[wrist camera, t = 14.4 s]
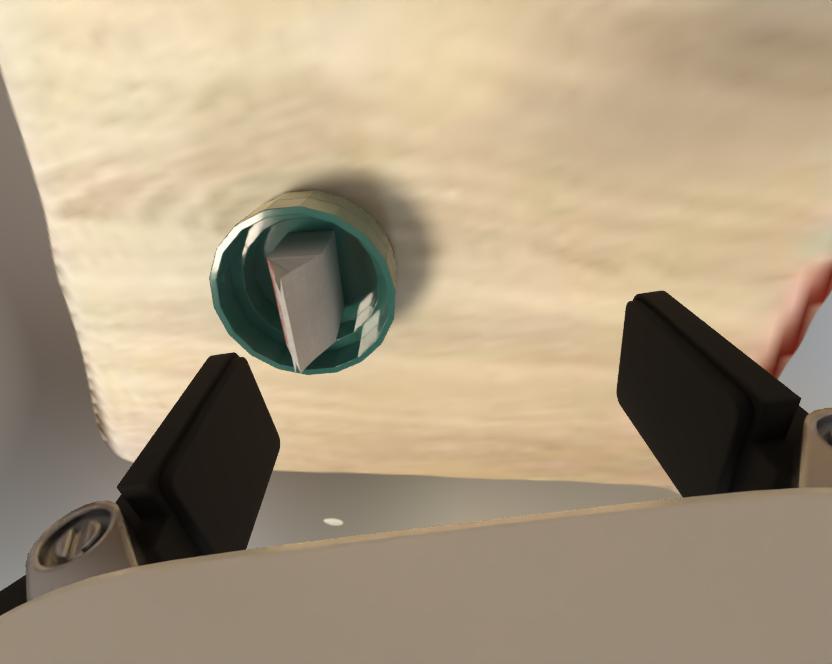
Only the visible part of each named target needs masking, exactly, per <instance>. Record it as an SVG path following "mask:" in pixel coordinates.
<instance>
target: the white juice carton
mask: <svg viewBox="0 0 832 664" xmlns="http://www.w3.org/2000/svg"><path fill="white" fill-rule="evenodd" d="M267 261H268V266H269V270H270V275H271V279H272V283H273V288H274V292H275V297H276V301H277V306H278V310H279V315H280V319H281V323H282V328H283V332H284V337H285V341H286V345H287V347H288V349H289V351H290V353H291V356H292V360H293V365H294V369H295V374H296V369H297V366H298V369H299V371H300V373H302V372H303V371H304V369H305V368H306V367H307V366H308V365H309V364H310V363H311V362H312V361H313V360H314V359H315V358H317V357H318V356H319V355H320V354H321V353H323V352H324V351H325V350H326V349H327V348H329V347H330V346H331V345H332V344H333V343H335V342H336V338H337V334H338V331H339V327H340V323H341V320H342V316H343V312H344V309H345V305H344V297H343V290H342V283H341V276H340V269H339V262H338V255H337V248H336V241H335V234H334V231H316V232H297V233H287V234H286V236H285V237H284V238H283V239H282V240H281V241H280V243H279V244H278V245H277V246H276V247H275V249H274V250H273V251H272V252H271V253H270V254H269V256H268V257H267Z"/></svg>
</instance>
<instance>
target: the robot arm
mask: <svg viewBox="0 0 832 664" xmlns="http://www.w3.org/2000/svg"><path fill="white" fill-rule="evenodd" d="M617 398H618V401H619V404H620V405H621V407H622V408H623V410H624V411H625V413H626V414H627V416H628V417H629V419H630V420H631V422H632V423H633V425H634V426H635V428H636V429H637V431H638V432H639V434H640V435H641V436H642V438H643V439H644V441H645V442H646V444H647V445H648V447H649V448H650V450H651V451H652V453H653V454H654V456H655V457H656V459H657V460H658V461H659V463H660V464H661V466H662V467H663V469H664V470H665V472H666V473H667V475H668V476H669V478H670V479H671V481H672V482H673V484H674V485H675V487H676V488H677V489H678V491H679V492H680V494H681V495H682V497H683V498H674V499H664V500H655V501H646V502H638V503H629V504H620V505H611V506H603V507H594V508H585V509H576V510H568V511H559V512H550V513H541V514H534V515H525V516H516V517H507V518H500V519H491V520H482V521H474V522H465V523H457V524H449V525H440V526H432V527H424V528H415V529H408V530H399V531H391V532H383V533H374V534H366V535H358V536H351V537H342V538H335V539H326V540H318V541H310V542H302V543H295V544H287V545H278V546H271V547H263V548H255V549H247V550H246V548H247V545H248V542H249V539H250V536H251V533H252V530H253V527H254V524H255V521H256V518H257V515H258V512H259V509H260V506H261V503H262V500H263V497H264V494H265V491H266V488H267V485H268V482H269V479H270V476H271V474H272V471H273V468H274V465H275V462H276V459H277V456H278V453H279V449H280V438H279V435H278V432H277V430H276V428H275V425H274V423H273V421H272V418H271V416H270V414H269V411H268V409H267V407H266V404H265V402H264V399H263V397H262V395H261V392H260V390H259V388H258V385H257V383H256V381H255V378H254V376H253V374H252V371H251V369H250V367H249V364H248V362H247V360H246V359H245V358H244V357H239V356H238V355H237V354H236V353H227V354H220V355H213V356H210V357H209V358H208V359H207V360H206V362H205V363H204V365H203V366H202V367H201V369H200V370H199V372H198V373H197V374H196V376H195V377H194V379H193V380H192V381H191V383H190V384H189V386H188V387H187V389H186V390H185V391H184V393H183V394H182V396H181V397H180V398H179V400H178V401H177V403H176V404H175V405H174V407H173V408H172V410H171V411H170V412H169V414H168V415H167V417H166V418H165V420H164V421H163V422H162V424H161V425H160V427H159V428H158V429H157V431H156V432H155V434H154V435H153V436H152V438H151V439H150V441H149V442H148V443H147V445H146V446H145V448H144V449H143V451H142V452H141V453H140V455H139V456H138V458H137V459H136V460H135V462H134V463H133V465H132V466H131V467H130V469H129V470H128V472H127V473H126V475H125V476H124V477H123V479H122V480H121V482H120V483H119V484H118V486H117V488H118V490H119V491H120V493H121V495H120V497H119V498H118V500H117V501H116V503H114V502H110V501H98V502H94V503H90V504H87V505H84V506H82V507H80V508H78V509H76V510H73V511H71V512H70V513H68V514H67V515H65V516H64V517H62V518H61V519H59V520H58V521H56V522H55V523H54V524H53V525H52V526H51V527H49V528H48V529H47V530H46V531H45V532H44V533H43V534H42V535H41V536H40V538H39V539H38V540H37V541H36V542H35V543H34V545H33V547H32V548H31V550H30V552H29V553H28V556H27V561H26V575H25V576H23V577H22V578H20V579H19V580H17V581H16V582H14V583H13V584H11V585H10V586H8V587H6V588H5V589H3V590H2V591H0V664H832V408H824V409H819V410H815V411H813V412H811V413H810V414H809V413H807V412H806V411H805V410H804V409H803V408H801V407H800V406H799V403H800V400H801V398H800V397H799V396H798V395H796V394H795V393H793V392H792V391H791V390H790V389H789V388H787V387H786V386H785V385H784V384H782V383H781V382H780V381H778V380H777V379H776V378H775V377H773V376H772V375H771V374H770V373H768V372H767V371H766V370H765V369H763V368H762V367H761V366H759V365H758V364H757V363H756V362H754V361H753V360H752V359H751V358H749V357H748V356H747V355H745V354H744V353H743V352H742V351H740V350H739V349H738V348H737V347H735V346H734V345H733V344H731V343H730V342H729V341H728V340H726V339H725V338H724V337H723V336H721V335H720V334H719V333H718V332H716V331H715V330H714V329H712V328H711V327H710V326H709V325H707V324H706V323H705V322H704V321H702V320H701V319H700V318H698V317H697V316H696V315H695V314H693V313H692V312H691V311H690V310H688V309H687V308H686V307H684V306H683V305H682V304H681V303H679V302H678V301H677V300H676V299H674V298H673V297H672V296H671V295H669V294H668V293H667V292H665V291H656V292H649V293H642V294H637V295H636V296H635V297H634V299H633V301H629V302H628V303H627V305H626V311H625V320H624V329H623V338H622V347H621V356H620V365H619V374H618V383H617Z"/></svg>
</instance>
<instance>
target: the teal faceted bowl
mask: <svg viewBox="0 0 832 664" xmlns="http://www.w3.org/2000/svg"><path fill="white" fill-rule="evenodd" d="M316 231H334V234H335V241H336V248H337V255H338V262H339V269H340V276H341V283H342V290H343V297H344V305H345V309H344V312H343V316H342V320H341V323H340V327H339V331H338V334H337V338H336V342H335V343H333V344H332V345H331V346H330V347H329V348H327V349H326V350H325V351H324V352H323V353H321V354H320V355H319V356H318V357H317V358H315V359H314V360H313V361H312V362H311V363H310V364H309V365H308V366H307V367H306V368H305V369H304V371H303V372H302V373H301V374H306V375H312V374H323V373H334V372H338V371H341V370H343V369H345V368H348V367H350V366H353V365H355V364H357V363H360V362H362V361H363V360H364V359H365V358H366V357H367V356H369V355H370V354H371V353H372V352H373V351H374V350H375V349H376V348H377V347H378V346H380V345H381V344H382V342H383V340H384V338H385V336H386V334H387V332H388V330H389V328H390V326H391V324H392V322H393V319H394V309H395V295H396V271H397V265H396V261H395V258H394V254H393V251H392V248H391V244H390V241H389V239H388V237H387V236H386V234H385V233H384V232H383V230H382V229H381V228H380V226H379V225H378V224H377V222H376V221H375V220H374V218H373V217H372V216H371V215H370V214H369V213H367V212H366V211H364V210H363V209H361V208H360V207H358V206H357V205H355V204H354V203H353V202H351V201H350V200H348V199H347V198H344V197H340V196H336V195H332V194H329V193H325V192H321V191H317V190H310V191H299V192H289V193H284V194H282V195H280V196H278V197H277V198H275V199H273V200H271V201H269V202H267V203H265V204H263V205H261V206H260V207H258V208H257V209H256V210H255V211H253V212H252V213H251V214H249V215H248V216H247V217H245V218H244V219H243V220H241V221H240V222H239V223H237V224H236V225H235V226H234V227H233V229H232V230H231V231H230V232H229V234H228V235H227V236H226V237H225V239H224V240H223V241H222V242H221V244H220V245H219V246H218V247H217V249H216V253H215V257H214V261H213V265H212V269H211V273H210V278H209V279H210V286H211V292H212V298H213V305H214V309H215V310H216V312H217V314H218V316H219V318H220V319H221V321H222V323H223V325H224V327H225V328H226V330H227V332H228V334H229V335H230V336H231V337H232V338H233V339H234V340H235V341H237V342H238V343H239V344H240V345H241V346H242V347H243V348H244V349H245V350H246V351H247V352H248V353H249V354H250V355H252V356H254V357H256V358H258V359H260V360H262V361H263V362H265V363H267V364H269V365H271V366H273V367H275V368H277V369H281V370H286V371H291V372H295V369H294V365H293V360H292V356H291V353H290V351H289V349H288V347H287V345H286V341H285V337H284V332H283V328H282V323H281V319H280V315H279V310H278V306H277V301H276V297H275V292H274V288H273V283H272V279H271V275H270V270H269V266H268V261H267V257H268V256H269V254H270V253H271V252H272V251H273V250H274V249H275V247H276V246H277V245H278V244H279V243H280V241H281V240H282V239H283V238H284V237H285V236H286V234H287V233H297V232H316ZM296 373H300V371H299V369H298V366H297V369H296Z"/></svg>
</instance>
